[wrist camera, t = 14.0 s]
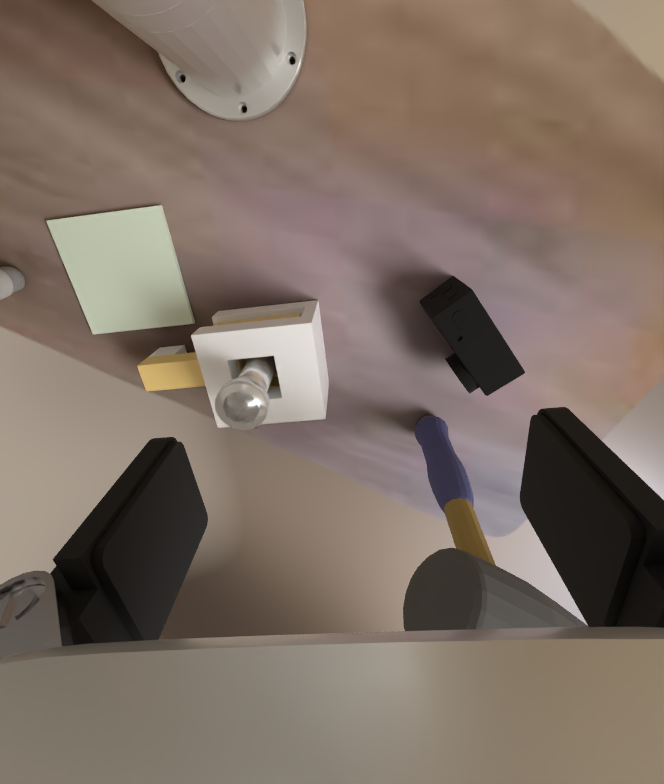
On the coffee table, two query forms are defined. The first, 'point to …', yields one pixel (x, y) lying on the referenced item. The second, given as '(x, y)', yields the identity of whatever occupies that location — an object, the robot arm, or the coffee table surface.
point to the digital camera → (471, 338)
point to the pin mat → (123, 269)
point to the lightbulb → (10, 281)
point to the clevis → (250, 340)
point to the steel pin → (247, 395)
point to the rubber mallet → (468, 561)
